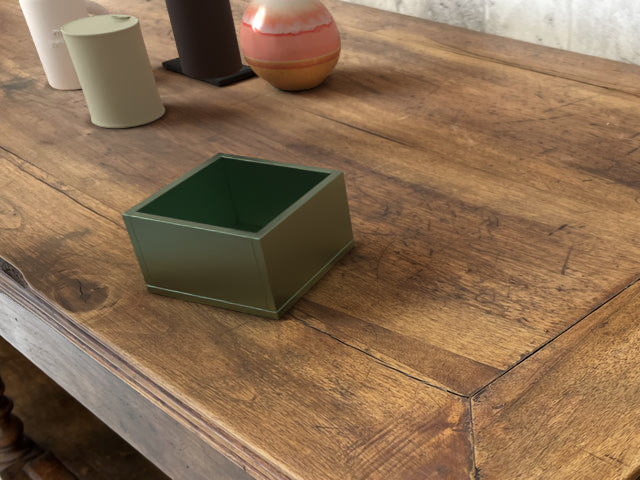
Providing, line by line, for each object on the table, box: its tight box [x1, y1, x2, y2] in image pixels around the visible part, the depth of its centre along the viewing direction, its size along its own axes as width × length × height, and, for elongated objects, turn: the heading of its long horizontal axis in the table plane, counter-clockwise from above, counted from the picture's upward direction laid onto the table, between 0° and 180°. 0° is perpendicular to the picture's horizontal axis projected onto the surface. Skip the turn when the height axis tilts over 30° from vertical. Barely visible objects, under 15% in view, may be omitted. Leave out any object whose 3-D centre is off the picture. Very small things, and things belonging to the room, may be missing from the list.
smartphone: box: [161, 56, 257, 87], centre depth 120 cm, size 7×1×15 cm
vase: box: [239, 0, 342, 92], centre depth 110 cm, size 14×14×18 cm
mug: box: [18, 0, 113, 91], centre depth 115 cm, size 8×12×12 cm
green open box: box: [121, 152, 356, 321], centre depth 72 cm, size 14×14×8 cm
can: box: [61, 13, 166, 129], centre depth 102 cm, size 9×9×12 cm
